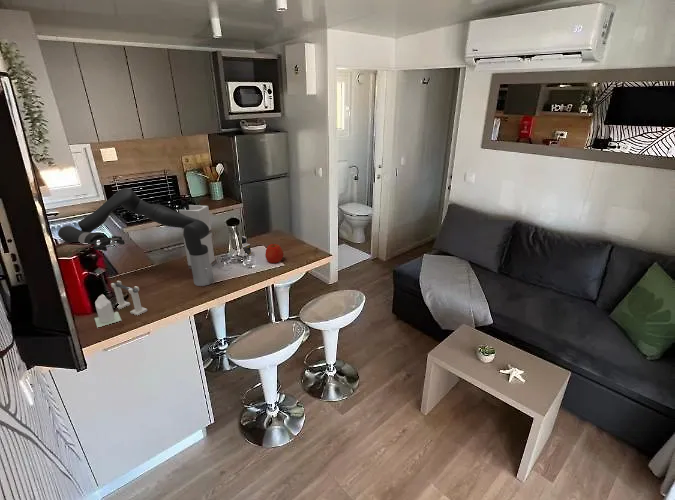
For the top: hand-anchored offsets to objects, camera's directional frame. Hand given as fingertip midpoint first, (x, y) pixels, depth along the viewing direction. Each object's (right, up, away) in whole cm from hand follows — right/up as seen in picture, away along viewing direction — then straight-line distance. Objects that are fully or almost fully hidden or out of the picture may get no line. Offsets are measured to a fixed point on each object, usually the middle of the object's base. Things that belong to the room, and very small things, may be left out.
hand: (115, 245), depth 163 cm
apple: (+64, -9, +53) cm, 84 cm away
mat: (+1, -33, -7) cm, 34 cm away
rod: (+6, -20, -2) cm, 21 cm away
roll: (+1, -33, -7) cm, 33 cm away
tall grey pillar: (+23, -11, +46) cm, 53 cm away
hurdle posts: (+6, -29, +2) cm, 30 cm away
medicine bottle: (+42, -6, +61) cm, 75 cm away
